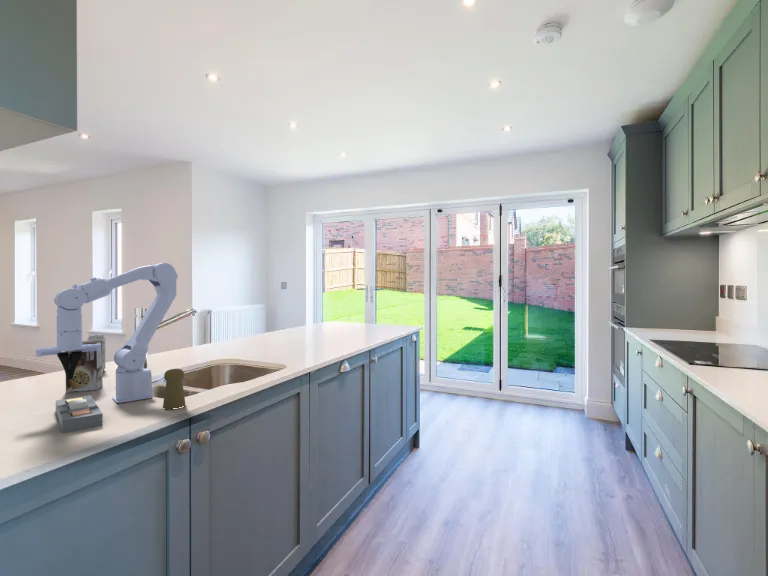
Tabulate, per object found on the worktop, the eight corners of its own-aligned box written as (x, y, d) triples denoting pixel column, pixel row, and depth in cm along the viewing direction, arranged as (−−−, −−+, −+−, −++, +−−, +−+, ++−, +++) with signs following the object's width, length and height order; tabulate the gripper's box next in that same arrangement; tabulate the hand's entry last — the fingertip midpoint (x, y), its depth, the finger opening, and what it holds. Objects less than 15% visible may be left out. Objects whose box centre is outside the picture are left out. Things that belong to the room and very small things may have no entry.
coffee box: (103, 385, 141) (103, 340, 141) (97, 390, 135) (97, 342, 135) (72, 388, 138) (71, 341, 138) (64, 392, 132) (64, 343, 132)
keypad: (90, 405, 119) (90, 395, 119) (102, 425, 103) (102, 413, 103) (55, 411, 113) (55, 400, 113) (62, 432, 97) (62, 420, 97)
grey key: (85, 409, 111) (85, 398, 111) (87, 412, 108) (87, 401, 108) (68, 412, 108) (68, 401, 108) (70, 415, 106) (70, 404, 105)
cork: (180, 402, 122) (180, 366, 122) (189, 406, 119) (189, 369, 118) (158, 407, 118) (158, 369, 118) (167, 411, 114) (167, 372, 114)
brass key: (82, 407, 116) (82, 397, 116) (83, 410, 113) (83, 400, 113) (66, 410, 113) (66, 399, 113) (67, 413, 111) (67, 402, 111)
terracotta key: (88, 420, 105) (88, 408, 105) (90, 423, 103) (90, 412, 103) (71, 423, 103) (71, 411, 103) (73, 427, 100) (72, 415, 100)
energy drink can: (106, 369, 168) (106, 333, 168) (104, 372, 163) (104, 335, 162) (88, 370, 165) (88, 334, 165) (86, 373, 160) (86, 336, 159)
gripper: (36, 334, 107) (37, 385, 107) (102, 330, 117) (102, 377, 117) (35, 332, 112) (35, 380, 112) (98, 328, 122) (98, 373, 122)
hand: (69, 378), depth 115 cm, fingers closed
